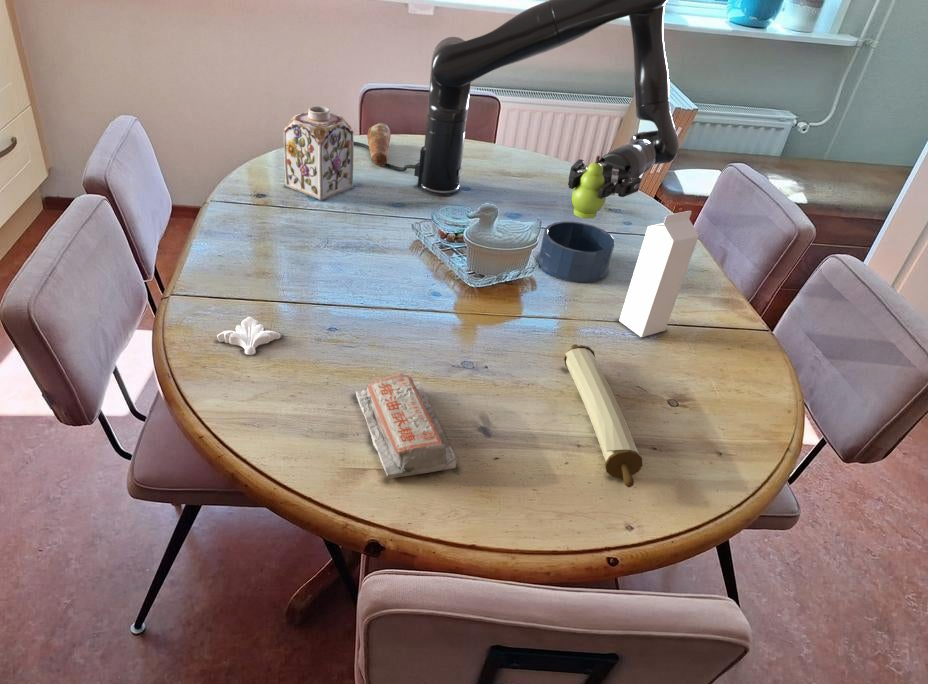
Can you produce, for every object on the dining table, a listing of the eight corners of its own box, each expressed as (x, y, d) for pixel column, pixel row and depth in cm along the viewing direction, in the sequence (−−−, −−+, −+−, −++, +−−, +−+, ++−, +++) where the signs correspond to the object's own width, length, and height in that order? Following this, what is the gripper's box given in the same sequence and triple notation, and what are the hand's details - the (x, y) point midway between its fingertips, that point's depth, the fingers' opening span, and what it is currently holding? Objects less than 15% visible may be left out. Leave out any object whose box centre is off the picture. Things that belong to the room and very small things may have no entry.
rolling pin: (645, 499, 93) (656, 472, 90) (604, 498, 92) (614, 471, 89) (587, 357, 118) (594, 332, 115) (554, 355, 118) (560, 331, 114)
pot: (528, 269, 141) (534, 239, 137) (551, 243, 151) (557, 215, 147) (595, 289, 137) (603, 259, 133) (614, 261, 147) (622, 233, 143)
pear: (564, 215, 136) (576, 157, 129) (573, 204, 141) (586, 147, 134) (595, 224, 134) (610, 165, 127) (604, 212, 139) (619, 155, 132)
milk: (665, 331, 127) (707, 218, 113) (640, 338, 124) (680, 223, 111) (641, 314, 131) (679, 203, 117) (617, 320, 128) (653, 207, 115)
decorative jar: (317, 173, 172) (317, 97, 161) (354, 187, 167) (356, 110, 156) (283, 187, 164) (280, 107, 153) (320, 201, 159) (320, 121, 148)
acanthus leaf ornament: (217, 341, 113) (216, 332, 112) (245, 323, 118) (244, 313, 117) (253, 357, 110) (252, 347, 109) (281, 337, 115) (280, 328, 114)
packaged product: (462, 443, 91) (389, 455, 88) (458, 470, 94) (387, 482, 91) (420, 363, 105) (355, 371, 102) (418, 388, 108) (354, 396, 105)
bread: (390, 143, 193) (391, 123, 189) (388, 169, 178) (390, 147, 174) (367, 141, 192) (368, 121, 189) (364, 167, 177) (364, 145, 174)
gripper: (595, 138, 144) (556, 158, 133) (661, 158, 138) (625, 180, 127) (586, 173, 149) (548, 195, 138) (650, 194, 142) (615, 219, 131)
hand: (585, 188), depth 132 cm, fingers closed on pear, 5 cm apart
